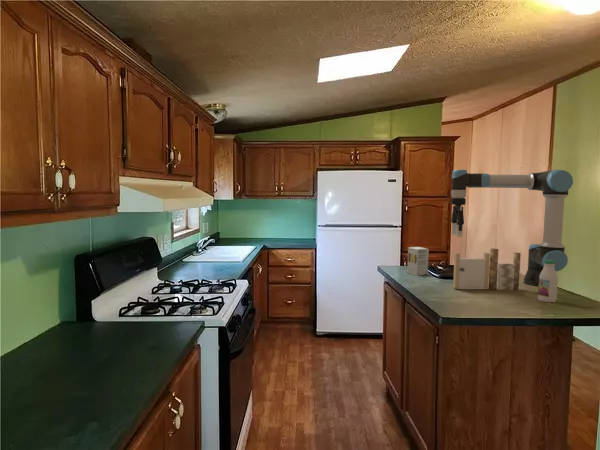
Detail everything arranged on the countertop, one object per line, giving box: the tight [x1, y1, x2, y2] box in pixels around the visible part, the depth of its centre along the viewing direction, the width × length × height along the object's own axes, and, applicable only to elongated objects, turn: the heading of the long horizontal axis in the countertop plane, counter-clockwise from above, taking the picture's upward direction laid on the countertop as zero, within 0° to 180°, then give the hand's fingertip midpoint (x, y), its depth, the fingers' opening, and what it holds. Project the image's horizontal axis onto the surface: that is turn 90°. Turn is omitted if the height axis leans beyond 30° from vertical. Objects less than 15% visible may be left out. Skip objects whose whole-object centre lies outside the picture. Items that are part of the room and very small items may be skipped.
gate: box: [452, 252, 490, 290], centre depth 215 cm, size 18×4×19 cm, turn 91°
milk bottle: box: [537, 260, 559, 303], centre depth 194 cm, size 8×8×20 cm
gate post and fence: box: [488, 248, 521, 291], centre depth 216 cm, size 16×4×22 cm, turn 91°
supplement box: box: [406, 246, 430, 276], centre depth 256 cm, size 10×9×17 cm
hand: (456, 235), depth 224 cm, fingers open, 13 cm apart
